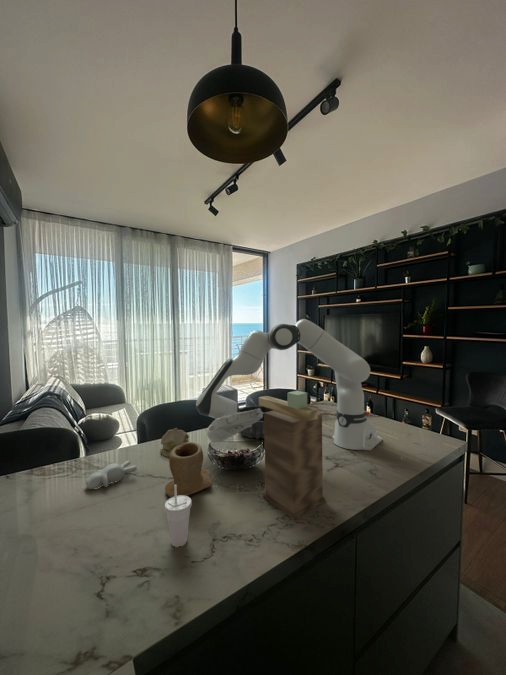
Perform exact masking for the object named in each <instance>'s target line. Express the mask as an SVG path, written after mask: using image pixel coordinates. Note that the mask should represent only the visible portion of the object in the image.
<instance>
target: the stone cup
mask: <svg viewBox="0 0 506 675" xmlns="http://www.w3.org/2000/svg"><path fill="white" fill-rule="evenodd" d="M168 457H169V461H168V462H169V465H168V466H169V469H170V470H169V471H170V472H171V475H172V478H173V480H171V481H169V482H168V483H166V484H165V487H164V491H165V493H166V494H167V496H168V497H170V498H172V497H175V495H174V485H177V496H179V495H184V496H188V497H189V496H190V495H193V494H195V493H198V492H200V491H202V490H204V489H207V488H209V487H211V486H212V485H213V482H212V480H211V477H210V471H209V470H208V469H206V468H205V469H203V470H202V467H203V462H204V451H203V448H202V446H201V445H200V443H197V442H194V441H192V442H190V441H189V442H188V443H183V444H181V445H179V446H177V447H175V448H174V449H173V450H172V451H171V453H170V456H168Z"/></svg>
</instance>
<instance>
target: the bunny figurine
mask: <svg viewBox="0 0 506 675" xmlns="http://www.w3.org/2000/svg"><path fill="white" fill-rule="evenodd" d="M129 465H131V460H126V461H124V462H122V463H121V464H118V463H116V462H115V463H110V464H108V465H106V466H105V467H104V468H102V469H98V470H96V471H95V472H93V473H92V474H90V475H89V476H88V478H87V479H86V480H84V481H85V485H86V487H87V489H88V490H94V488H98V487H100V486H102V485H103V486H102V487H105V488H106V487H109V486H110V484H108V483H111V482H115V481H118V480H120V481H121V480H122V479H123V477H124V475H125V474H126V473H132V472H136V471H137V470H138V468H137V465H131V466H129ZM118 482H119V481H118Z"/></svg>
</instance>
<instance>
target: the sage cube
mask: <svg viewBox="0 0 506 675" xmlns="http://www.w3.org/2000/svg"><path fill="white" fill-rule="evenodd" d="M286 397H287V398H286V399H287V400H286V401H288V407H292V408H295V409H300V408H304V407H308V392H305V391H300V390H293V391H290V392H287V396H286Z"/></svg>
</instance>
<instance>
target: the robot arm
mask: <svg viewBox="0 0 506 675" xmlns="http://www.w3.org/2000/svg"><path fill="white" fill-rule="evenodd" d="M296 344H299V345H301V346H302V347H303V348H304V349H306V350H307V351H308V352H310V353H311V355H314V357H316V358H317V359H318V360H320V361H321V362H322V363H323V364H325V365H327V366H328V367H329V368H331V369H332V370H333V371H334V377H335V385H336V392H337V393H336V394H337V395H336V396H337V398H336V399H337V402H336V403H337V410H336V414H335V415H336V420H335V422H334V433H333V435H332V439H333V442H334V444H335V445H337V446H338V447H340V448H342V449H345V450H346V449H347V450H353V451H354V450H357V451H361V450H363V451H372V450H373V449H374V448H375V447H377V446H378V445H379V443H381V442H382V441H383V437H381V436H380V435H377V429H376V426H374V424H372V423H371V422H370V421H369V420H368V418H367V417H369V416H371V415H370V414H371V411H368V410H365V394H364V390H363V387H362V383H363V382H365V381H367V380H368V378H369V377H370V376H371V375H370V374H371V367H370V365H369V363H368V361H366V359H364V358H363V357H361V356H360V355H359V354H357V352H355V351H353V350H351V349H350V348H349V347H347V346H346V345H345V344H343V343H342V342H340V341H338V340H337V339H336V338H335V337H333V336H332V335H330V334H329V332H327V331H326V330H324V329H323V328H322V327H320V326H319V325H317V324H316V323H315V322H313V321H311V320H308V319H307V318H302V319H299V320H298V321H296V322H295V323H294V324H287V323H286V324H285V323H279V324H277V325H274V326H273V327H271V329H269V330H268V331H267V332H264V331H262V330H253V331H251V332H250V333H249V334H248V336H247V337H246V339H245V340H244V341H243V344H242V345H241V347H240V350H239V351H238V352H237V354H236V355H235V356H234V357H232V358H228V359H226V360H225V361H224V363H222V365H221V367H220V368H219V369H218V371H217V372H216V373H215V375H214V376H213V378H212V379H211V380H210V382H209V384H208V385H207V386H206V388H204V390H203V391H202V392H201V393H200V395H199V396H198V398H197V400H196V401H195V408H196V410H197V412H198V413H199V415H201V416H205V417H210V418H213V419H214V420H213V421H212V422H211V423H210V425H208V426H207V429H206V436H207V438H208V439H209V441H211V442H213V443H222V442H224V441H226V440H229V438H232V437H234V436H236V435H237V434H240V432H241V431H242V430H245V429H247V428H250V427H251V426H252V424H254V423H256V422H257V421H259V420H260V419H262V418H263V414H262V411H261V409H260V408H259V409H255V410H251V411H244V412H240V410H239V409H240V406H239V404H238V402H237V401H235V400H233V399H231V398H228V397H224V396H223V395H220V394H217V392H218V391H219V389H220V388H221V387H222V385H223V384H224V383H225V381H226V380H227V379H228V378H229V377H232V376H249V375H252V374H255V373H257V372H258V371H259V370H260V368H261V367H262V363H263V362H264V359H265V358H266V355H267V354H268V352H269V351H271V349H274V350H279V351H284V350H285V351H286V350H288V349H290V348H292V347H293V346H295V345H296Z"/></svg>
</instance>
